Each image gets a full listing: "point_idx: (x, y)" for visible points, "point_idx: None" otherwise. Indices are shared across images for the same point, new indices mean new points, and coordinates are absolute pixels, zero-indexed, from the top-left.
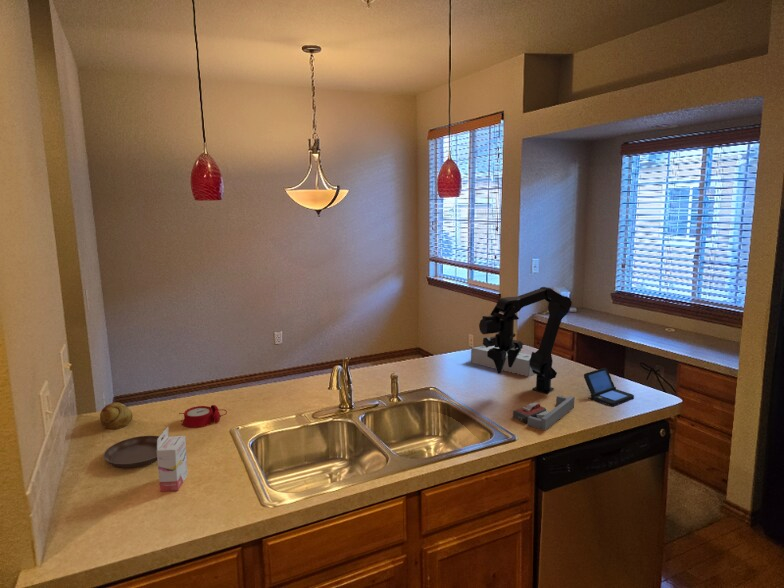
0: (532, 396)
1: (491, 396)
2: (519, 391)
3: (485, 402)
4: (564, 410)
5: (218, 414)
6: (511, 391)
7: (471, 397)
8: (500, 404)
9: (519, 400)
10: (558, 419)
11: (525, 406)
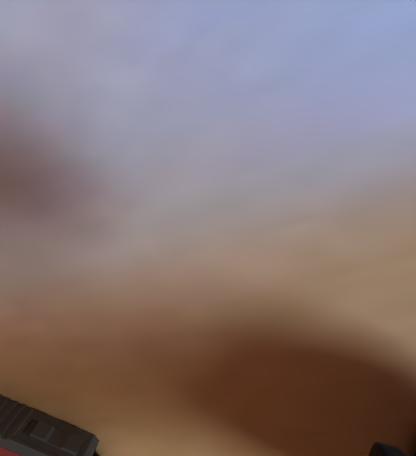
0: (311, 413)
1: (164, 163)
2: (373, 322)
3: (30, 163)
4: None
5: None
6: (347, 271)
7: (52, 18)
8: (61, 266)
9: (196, 355)
10: None
11: (11, 447)
